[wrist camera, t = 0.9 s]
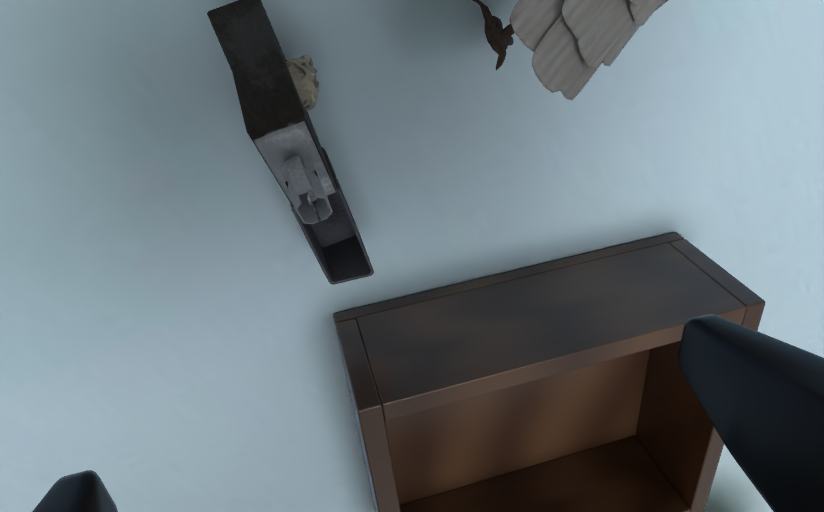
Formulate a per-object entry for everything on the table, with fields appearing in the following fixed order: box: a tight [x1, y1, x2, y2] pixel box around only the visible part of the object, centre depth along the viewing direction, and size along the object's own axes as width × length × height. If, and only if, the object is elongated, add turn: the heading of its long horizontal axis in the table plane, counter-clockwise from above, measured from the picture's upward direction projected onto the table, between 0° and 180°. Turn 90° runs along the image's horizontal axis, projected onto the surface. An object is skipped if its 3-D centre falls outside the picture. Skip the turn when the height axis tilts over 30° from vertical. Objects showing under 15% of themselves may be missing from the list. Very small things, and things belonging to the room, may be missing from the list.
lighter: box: [207, 0, 374, 284], centre depth 17 cm, size 8×2×5 cm
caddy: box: [333, 232, 765, 512], centre depth 25 cm, size 15×13×5 cm
